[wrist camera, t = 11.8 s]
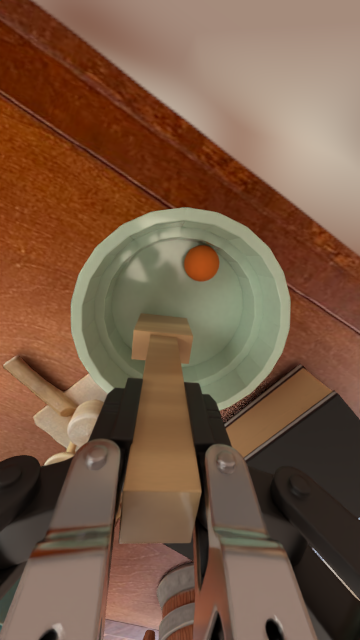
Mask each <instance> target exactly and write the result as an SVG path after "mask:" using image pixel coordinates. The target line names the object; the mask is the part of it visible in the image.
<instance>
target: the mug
mask: <svg viewBox="0 0 360 640" xmlns="http://www.w3.org/2000/svg"><path fill="white" fill-rule="evenodd" d="M157 598H158V601H159V604H160V607H161V610H162V613H163V620H162V621H161V623H160V625H159V640H193V623H194V610H195V580H194V562H193V563H188V564H185V565H182V566H179V567H177V568H175V569H173V570H172V571H170V572H169V573H168V574H167V575H166V576H165V577H164V578H163V579H162V581H161V582H160V584H159V586H158V589H157ZM143 640H155V632H154V631H153V630H147V631H146V633H145V636H144V638H143Z"/></svg>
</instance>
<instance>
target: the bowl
mask: <svg viewBox="0 0 360 640" xmlns="http://www.w3.org/2000/svg"><path fill="white" fill-rule="evenodd" d="M199 245H206V246H209V247H211V248H212V249H214V250H215V252H216V253H217V255H218V257H219V269H218V271H217V273H216V274H215V276H214V277H213V278H211V279H210V280H207V281H203V282H199V281H195V280H193V279H192V278H190V277H189V276H188V275H187V273H186V271H185V268H184V260H185V257H186V255H187V253H188V252H189V251H190V250H191V249H192V248H193V247H196V246H199ZM290 304H291V301H290V296H289V292H288V287H287V283H286V279H285V275H284V272H283V270H282V269H281V267H280V265H279V263H278V262H277V260H276V258H275V256H274V255H273V253H272V251H271V250H270V248H269V247H268V246H267V245H266V244H265V243H264V242H263V241H262V240H261V239H260V238H258V237H257V236H256V235H255V234H254V233H253V232H252V231H251V230H250V229H249V228H248V227H246V226H245V225H243V224H241V223H238V222H236V221H234V220H232V219H230V218H228V217H226V216H224V215H222V214H220V213H218V212H212V211H206V210H200V209H194V208H188V207H186V208H185V207H183V208H175V209H167V210H159V211H153V212H150V213H147V214H145V215H143V216H141V217H138V218H136V219H134V220H131V221H129V222H127V223H125V224H122V226H120V227H119V228H117V229H116V230H115V231H114V232H113V233H112V234H110V235H109V236H108V237H107V238H106V239H105V240H103V241H102V242H101V243H100V244H99V245H98V246H97V247H96V248H95V249H94V251H93V252H92V254H91V256H90V257H89V259H88V260H87V262H86V263H85V265H84V267H83V268H82V270H81V271H80V274H79V275H78V279H77V282H76V286H75V290H74V293H73V297H72V300H71V331H72V332H71V333H72V336H73V340H74V343H75V346H76V350H77V353H78V356H79V358H80V360H81V362H82V363H83V365H84V366H85V368H86V369H87V371H88V373H89V374H90V376H91V377H92V379H93V380H94V382H95V383H96V384H97V385H99V386H100V387H101V388H102V389H103V390H104V391H105V392H106V393H107V394H108V393H109V392H110V391H112V390H113V389H114V388H125V385H126V382H127V379H128V377H129V378H143V373H144V367H145V361H146V360H136V359H131V356H132V343H133V330H134V328H135V326H136V323H137V321H138V318H139V316H140V314H141V313H145V314H154V315H163V316H172V317H181V318H187V321H188V323H189V326H190V329H191V331H192V334H193V342H192V348H191V354H190V361H189V364H183V363H181V366H182V372H183V378H184V382H193V383H199V384H200V387H201V391H202V394H209V395H210V396H211V397H212V398H213V399H214V400H215V401H216V403H217V406H218V409H219V411H220V410H223V409H225V408H228V407H230V406H232V405H234V404H235V403H237V402H238V401H240V400H241V399H243V398H244V397H246V396H247V395H249V394H250V393H251V392H253V391H254V390H255V389H256V388H257V387H258V385H259V384H260V383H261V382H262V381H263V380H264V379H265V378H266V377H267V376H268V375H269V374H270V372H271V371H272V369H273V367H274V366H275V364H276V362H277V361H278V359H279V357H280V355H281V354H282V352H283V349H284V345H285V342H286V339H287V335H288V332H289V329H290Z"/></svg>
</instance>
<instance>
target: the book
mask: <svg viewBox="0 0 360 640" xmlns="http://www.w3.org/2000/svg"><path fill="white" fill-rule="evenodd" d="M224 425H225V428H226V431H227V434H228V437H229V439H230V442H231V445H232V448H234V449H236V450H237V451H238V452H239V453H240V454H241V455H242V456H243V458H244V459H245V461H246V463H247V464H248V465H249V466H251V467H253V468H256V469H258V470H261V471H264V472H267V473H270V474H273V475H274V473H275V471H276V469H277V468H279V467H280V466H291V467H294V468H297V469H299V470H301V471H302V472H304V473H305V474H307V475H308V476H309V477H311V478H312V479H313V480H314V481H315V482H316V483H317V484H319V485H320V486H321V487H322V488H323V489H324V490H326V491H327V492H328V493H329V494H330V495H331V496H332V497H334V498H335V499H336V500H337V501H338V502H339V503H341V504H342V505H343V506H344V507H345V508H346V509H347V510H349V511H350V512H351V513H352V514H353V515H354V516H355V517H357V518H360V420H359V418H358V417H357V416H356V415H355V413H354V412H353V411H352V410H351V409H350V407H349V406H348V405H347V404H346V403H345V401H344V400H343V399H342V398H341V397H340V395H339V394H338V393H336V392H335V391H331V390H330V389H329V388H328V387H327V386H325V385H324V384H323V383H322V382H320V381H319V380H318V379H317V378H315V377H314V376H313V375H312V374H310V373H309V372H308V371H307V370H306V369H305V367H304V366H302V365H301V364H299V365H298V366H296V367H295V368H294V369H293V370H291V371H290V372H289V373H288V374H286V375H285V376H284V377H282V378H281V379H280V380H279V381H277V382H276V383H275V384H274V385H272V386H271V387H270V388H269V389H267V390H266V391H265V392H264V393H262V394H261V395H260V396H258V397H257V398H256V399H255V400H253V401H252V402H251V403H250V404H248V405H247V406H246V407H245V408H243V409H242V410H241V411H240V412H238V413H237V414H236V415H234V416H233V417H232V418H231V419H229V420H228V421H227V422H226V423H224ZM163 544H164V545H166V546H168V547H170V548H171V549H173V550H175V551H177V552H178V553H180V554H182V555H184V556H185V557H187V558H189V559H191V560H192V561H194V551H193V534H192V539H191V542H190V543H163ZM308 545H309V546H310V547H312V546H311V545H310V543H309V544H308Z"/></svg>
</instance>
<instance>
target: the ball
mask: <svg viewBox="0 0 360 640" xmlns="http://www.w3.org/2000/svg"><path fill="white" fill-rule="evenodd" d="M184 268H185V271H186V273H187V275H188V276H189V277H190V278H192V279H193V280H195V281H199V282H203V281H207V280H210V279H211V278H213V277H214V276H215V274H216V273H217V271H218V269H219V257H218V255H217V253H216V252H215V250H214V249H212V248H211V247H209V246H206V245H199V246H196V247H193V248H192V249H191V250H190V251H189V252H188V253H187V255H186V257H185V260H184Z"/></svg>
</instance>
